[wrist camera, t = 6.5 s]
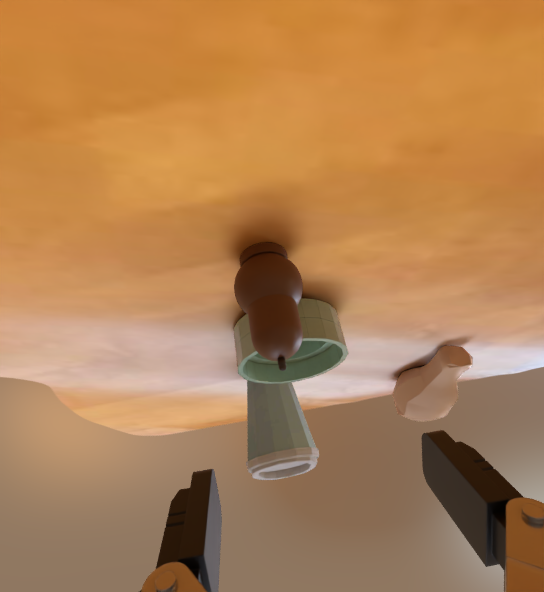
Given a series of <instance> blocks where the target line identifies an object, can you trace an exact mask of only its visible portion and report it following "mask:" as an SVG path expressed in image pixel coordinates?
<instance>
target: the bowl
mask: <svg viewBox="0 0 544 592" xmlns="http://www.w3.org/2000/svg"><path fill="white" fill-rule="evenodd" d="M297 308H298V312H299V317H300V321H301V326H302V331H303V339H302V343H301V346H300V348H299V349H298V351H297V352H296V353H295V354H294V355H293V356H292V357H290V358H288V359H286V360H285V361H286V367H287V368H286V370H285V371H281V370H280V369H279V366H278V361H271V360H268V359H266V358H264V357H262V356H261V355H260V354H259V353H258V352H257V351H256V350H255V348H254V346H253V343H252V340H251V333H250V325H249V318H248V314H246V315H245V316H243V317H242V318H241V319H240V320H238V322H237V324H236V326H235V327H234V339H235V348H236V357H237V367H238V374H239V375H240V376H241V377H243V378H244V379H246V380H249V381H251V382H256V383H264V384H281V383H289V382H296V381H300V380H304V379H308V378H312V377H315V376H318V375H320V374H323V373H326V372H327V371H329V370H331V369H333V368H335V367H337V366H338V365H339V364H340V363H342V362H343V361H344V360H345V358H346V356H347V354H348V351H347V347H346V343H345V340H344V336H343V333H342V329H341V326H340V322H339V318H338V315H337V311H336V309H334V308H333V307H332V306H331V305H330V304H328V303H326V302H323V301H320V300H317V299H305V298H301V299H300V302H299V304H298V305H297Z"/></svg>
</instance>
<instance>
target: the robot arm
mask: <svg viewBox="0 0 544 592" xmlns="http://www.w3.org/2000/svg"><path fill="white" fill-rule="evenodd" d="M422 461H423V472H424V476H425V479H426V482H427V484H428V485H429V487H430V488H431V490H432V491H433V493H434V494H435V495H436V497H437V498H438V500H439V501H440V502H441V504H442V505H443V507H444V508H445V509H446V511H447V512H448V514H449V515H450V517H451V518H452V519H453V521H454V522H455V524H456V525H457V526H458V528H459V529H460V531H461V532H462V533H463V535H464V536H465V538H466V539H467V541H468V542H469V543H470V545H471V546H472V547H473V549H474V550H475V552H476V553H477V555H478V556H479V557H480V559H481V560H482V562H483V563H484V564H485V566H486V567H487V566H492V565H497V564H500V565H501V567H502V568H503V570H504V592H544V503H542V502H539V501H537V500H534V499H530V498H524V497H523V496H522V495H521V494H520V493H519V492H518V491H517V490H516V489H515V488H514V487H513V486H512V485H511V484H510V483H509V482H508V481H507V480H506V479H505V478H504V477H503V476H501V474H500V473H499V472H498V471H497V470H495V469H493V467H492V466H491V465H490V464H489V463H488V462H487V461H485V459H484V458H483V457H482V456H481V455H480V454H479V453H478V452H477V451H476V450H475V449H474V448H471V447H470V446H468V445H466V444H464V443H463V442H455V441H454V440H453V439H452V438H451V437H450V436H449V435H448V434H447V433H446V432H445V431H443V430H440V431H434V432H430V433H424V434H423V435H422ZM221 523H222V517H221V505H220V500H219V494H218V489H217V483H216V478H215V473H214V470H213V469H209V470H203V471H197V472H193V475H192V480H191V487H190V488H187V489H181V490H179V491H178V493H177V494H176V496H175V497H174V499H173V500H172V501H171V505H170V509H169V514H168V519H167V522H166V528H165V531H164V536H163V540H162V544H161V549H160V553H159V558H158V562H157V566H156V569H155V571H153V572H152V573H151V574H150V575H149V576H148V578H147V579H146V581H145V582H144V584H143V587H142V590H141V591H140V592H218V585H219V565H220V545H221V543H220V542H221Z"/></svg>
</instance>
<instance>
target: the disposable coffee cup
mask: <svg viewBox="0 0 544 592" xmlns="http://www.w3.org/2000/svg"><path fill="white" fill-rule="evenodd" d="M247 402H248V461H247V462H246V465H247V468H248V472H249V473H252V477H253V478H256V479H260V480H276V479H280V478H286V477H290V476H295V475H299V474H303V473H306V472H307V471H309V470H311V469H313V468H315V466H316V464H317V458H318V457H319V452H318V449H317V448H316V447H315V444H314V441H313V439H312V436H311V433H310V430H309V428H308V425H307V422H306V420H305V417H304V414H303V412H302V409H301V406H300V404H299V401H298V398H297V396H296V393H295V390H294V388H293V385H292V382H289V383H281V384H264V383H256V382H251V381H249V380H247Z"/></svg>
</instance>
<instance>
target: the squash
mask: <svg viewBox="0 0 544 592" xmlns="http://www.w3.org/2000/svg"><path fill="white" fill-rule="evenodd" d="M470 367H472V357H471V355H470V354H469V353H468V352H467V351H466V350H465V349H464V348H462V347H455V346H447V345H445V346H443V347H441V348H440V349H439V351H438V352H437V353H436V355H435V356H434V358H433V359H432V360H431V361H430V362H429V363H428V364H426V365H424V366H423V367H418V368H413V369H410V370H407V371H404V372H402V373H401V375H400V376H399V377H398V379H397V382H396V385H395V388H394V391H393V394H392V395H393V398H394V403H395V405H396V408H397V412H398V414H399V415H402V416H404V417H406V418H409V419H411V420H414V421H430V420H435V419H439V418H442V417H445V416H446V415H447V414H448V412H449V410H450V408H451V407H452V406H453V405H454V404H455V403H456V401H457V400H458V387H457V379H458V378H459V377H460V376H461V375H462V374H463V373H464V372H465V371H466V370H468V369H469V368H470Z"/></svg>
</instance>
